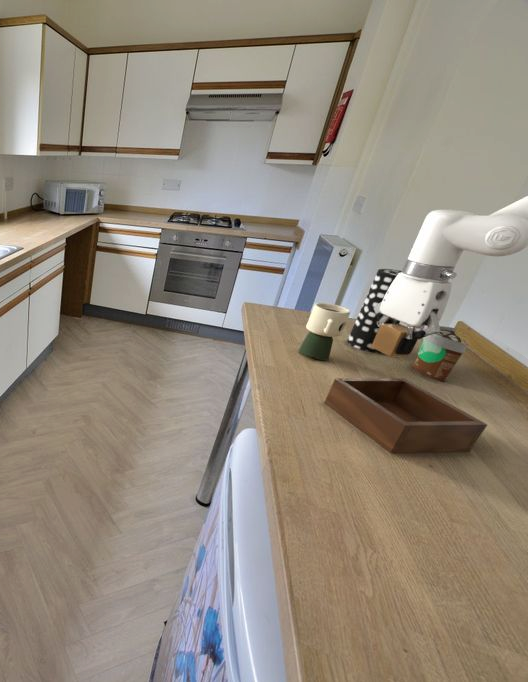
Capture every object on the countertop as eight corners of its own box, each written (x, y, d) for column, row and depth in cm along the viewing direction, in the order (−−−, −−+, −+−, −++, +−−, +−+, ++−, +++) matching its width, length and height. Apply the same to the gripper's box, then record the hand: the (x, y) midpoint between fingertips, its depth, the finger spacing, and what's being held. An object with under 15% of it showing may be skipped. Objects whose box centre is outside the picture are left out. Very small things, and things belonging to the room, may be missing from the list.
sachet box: (388, 346, 97) (399, 323, 94) (408, 356, 92) (420, 332, 90) (370, 346, 97) (381, 323, 94) (389, 356, 92) (401, 332, 90)
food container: (403, 357, 104) (421, 321, 100) (435, 364, 101) (456, 327, 97) (409, 375, 95) (430, 337, 91) (445, 384, 92) (468, 345, 88)
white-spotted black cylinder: (340, 341, 111) (370, 270, 103) (358, 337, 114) (389, 267, 106) (374, 355, 104) (410, 279, 96) (392, 350, 108) (429, 277, 99)
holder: (391, 402, 84) (404, 378, 82) (469, 451, 71) (487, 424, 68) (323, 402, 83) (334, 378, 80) (390, 453, 69) (405, 425, 67)
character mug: (331, 368, 96) (354, 318, 91) (296, 360, 100) (316, 311, 94) (327, 351, 105) (347, 304, 99) (295, 344, 108) (313, 298, 103)
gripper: (487, 283, 79) (443, 365, 87) (405, 261, 94) (373, 333, 102) (452, 282, 78) (410, 366, 86) (375, 261, 94) (345, 333, 102)
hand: (391, 347), depth 94 cm, fingers closed on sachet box, 5 cm apart
